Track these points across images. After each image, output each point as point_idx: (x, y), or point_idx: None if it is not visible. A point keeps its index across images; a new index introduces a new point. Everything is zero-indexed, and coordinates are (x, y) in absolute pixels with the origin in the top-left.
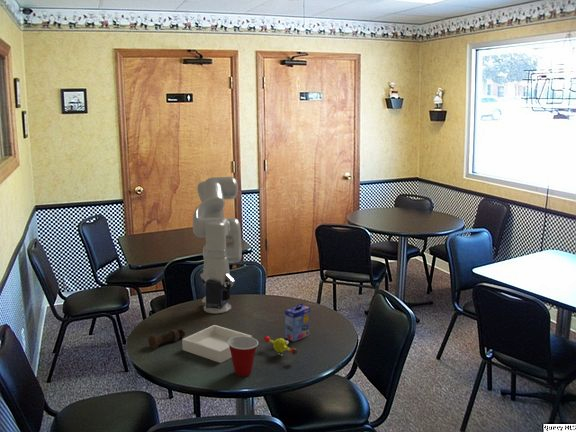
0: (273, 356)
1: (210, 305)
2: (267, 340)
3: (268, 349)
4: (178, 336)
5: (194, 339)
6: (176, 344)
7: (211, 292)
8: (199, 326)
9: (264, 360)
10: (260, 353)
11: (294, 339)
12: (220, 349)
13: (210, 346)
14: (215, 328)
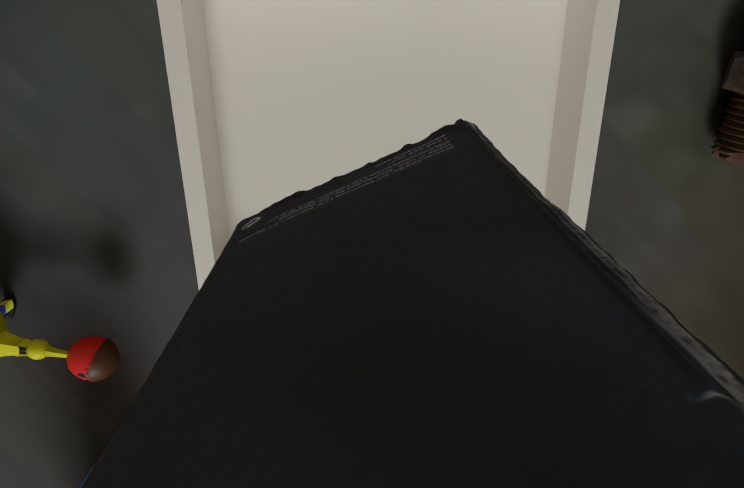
0: (14, 268)
1: (391, 163)
2: (73, 344)
3: (118, 322)
4: (731, 76)
5: (569, 91)
6: (690, 23)
7: (375, 289)
8: (716, 330)
9: (4, 193)
10: (107, 255)
11: (86, 477)
12: (325, 123)
13: (421, 119)
14: None
